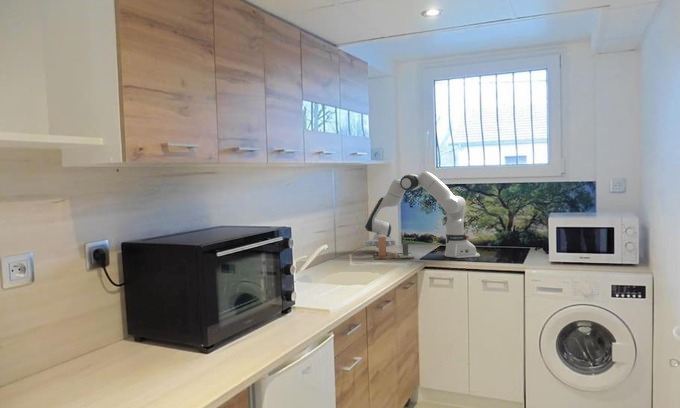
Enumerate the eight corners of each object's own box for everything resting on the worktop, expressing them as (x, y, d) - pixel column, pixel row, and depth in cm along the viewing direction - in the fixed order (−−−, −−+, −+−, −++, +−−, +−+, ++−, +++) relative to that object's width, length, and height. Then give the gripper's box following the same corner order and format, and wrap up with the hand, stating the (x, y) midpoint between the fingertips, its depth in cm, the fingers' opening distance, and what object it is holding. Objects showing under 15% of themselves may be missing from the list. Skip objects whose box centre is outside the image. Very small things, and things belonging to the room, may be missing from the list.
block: (385, 255, 331) (385, 236, 331) (386, 257, 327) (385, 237, 326) (378, 256, 331) (378, 236, 331) (379, 257, 327) (378, 237, 326)
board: (410, 255, 336) (410, 252, 336) (414, 260, 318) (414, 257, 318) (374, 256, 336) (374, 253, 336) (376, 261, 318) (375, 258, 318)
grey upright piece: (411, 255, 325) (410, 241, 324) (412, 257, 317) (412, 243, 316) (398, 255, 325) (398, 241, 324) (400, 257, 317) (399, 243, 316)
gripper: (364, 237, 348) (365, 240, 335) (394, 236, 348) (396, 239, 334) (365, 246, 349) (366, 249, 335) (394, 245, 349) (396, 248, 335)
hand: (381, 244), depth 335 cm, fingers open, 8 cm apart
